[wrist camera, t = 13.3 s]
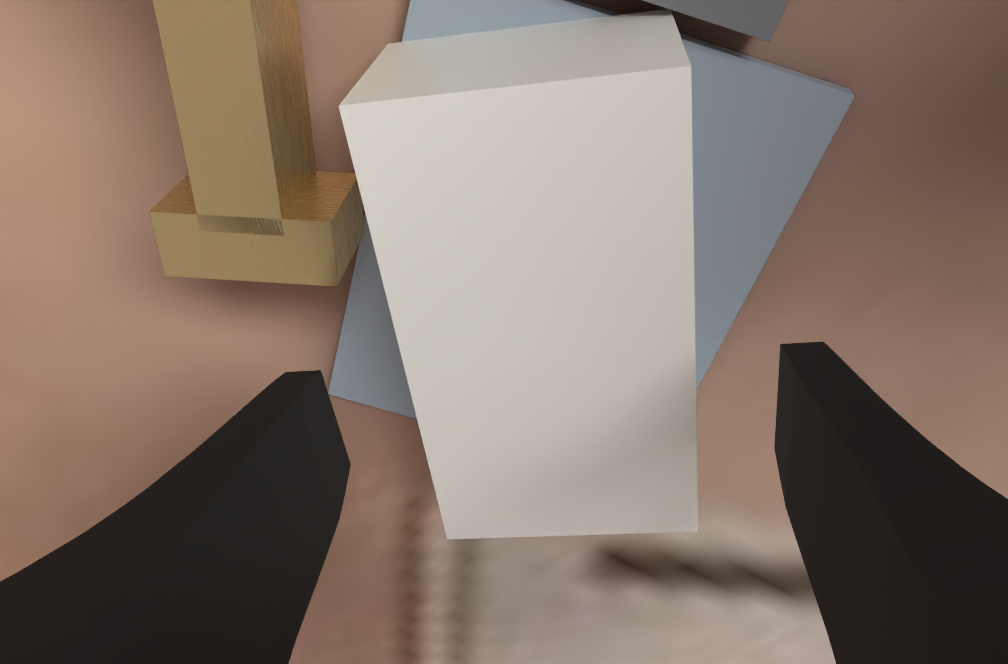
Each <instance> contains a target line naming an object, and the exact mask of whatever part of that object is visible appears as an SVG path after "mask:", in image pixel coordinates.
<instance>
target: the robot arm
mask: <svg viewBox="0 0 1008 664" xmlns="http://www.w3.org/2000/svg"><path fill="white" fill-rule="evenodd" d="M775 453H776V459H777V464H778V470H779V475H780V481H781V485H782V490H783V495H784V500H785V505H786V509H787V512H788V515H789V518H790V522H791V525H792V528H793V531H794V534H795V537H796V540H797V543H798V546H799V549H800V552H801V555H802V558H803V561H804V564H805V567H806V570H807V573H808V576H809V579H810V582H811V585H812V588H813V591H814V594H815V597H816V600H817V603H818V606H819V609H820V612H821V615H822V618H823V621H824V624H825V627H826V630H827V633H828V636H829V640H830V643H831V647H832V650H833V654H834V657H835V661H836V664H1008V499H1007V498H1005V497H1004V496H1002V495H1001V494H999V493H998V492H996V491H995V490H993V489H992V488H990V487H989V486H987V485H986V484H984V483H983V482H981V481H980V480H979V479H977V478H976V477H975V476H973V475H972V474H970V473H969V472H968V471H966V470H965V469H964V468H962V467H961V466H960V465H959V464H957V463H956V462H955V461H953V460H952V459H951V458H950V457H948V456H947V455H946V454H945V453H943V452H942V451H941V450H940V449H938V448H937V447H936V446H934V445H933V444H932V443H931V442H930V441H929V440H927V439H926V438H925V437H924V436H923V435H921V434H920V433H919V432H918V431H917V430H916V429H915V428H914V427H912V426H911V425H910V424H909V423H908V422H907V421H906V420H905V419H903V418H902V417H901V416H900V415H899V414H898V413H897V412H896V411H895V410H893V409H892V408H891V407H890V406H889V405H888V404H887V403H886V402H885V401H884V400H883V399H882V398H880V397H879V396H878V395H877V394H876V393H875V392H874V391H873V390H872V389H871V388H870V387H869V386H868V385H867V384H866V383H865V382H864V381H863V380H862V379H861V378H860V377H859V376H858V375H857V374H856V373H855V372H854V371H853V370H852V369H851V368H850V367H849V366H848V365H847V364H846V363H845V362H844V361H843V360H842V359H841V358H840V357H839V356H838V355H837V354H836V353H835V352H834V351H833V350H832V349H831V348H830V347H829V346H828V345H826V344H825V343H824V342H810V343H792V344H781V345H780V362H779V379H778V397H777V414H776V431H775ZM350 465H351V464H350V461H349V458H348V455H347V451H346V448H345V445H344V442H343V439H342V436H341V432H340V429H339V426H338V423H337V420H336V417H335V414H334V410H333V407H332V404H331V401H330V398H329V395H328V391H327V388H326V385H325V382H324V379H323V376H322V373H321V370H317V371H299V372H285V373H284V374H283V375H281V376H280V377H279V378H277V379H276V380H275V381H274V382H272V383H271V384H270V385H269V386H268V387H266V388H265V389H264V390H263V391H262V392H261V393H260V394H258V395H257V396H256V397H255V398H254V399H253V400H252V401H250V402H249V403H248V404H247V405H246V406H245V407H244V408H242V409H241V410H240V411H239V412H238V413H237V414H236V415H235V416H233V417H232V418H231V419H230V420H229V421H228V422H227V423H225V424H224V425H223V426H222V427H221V428H220V429H219V430H217V431H216V432H215V433H214V434H213V435H212V436H210V437H209V438H208V439H207V440H206V441H205V442H204V443H202V444H201V445H200V446H199V447H198V448H197V449H195V450H194V451H193V452H192V453H191V454H189V455H188V456H187V457H186V458H184V459H183V460H182V461H181V462H179V463H178V464H177V465H176V466H174V467H173V468H172V469H171V470H169V471H168V472H167V473H166V474H164V475H163V476H162V477H161V478H159V479H158V480H157V481H156V482H154V483H153V484H152V485H151V486H149V487H148V488H147V489H146V490H144V491H143V492H142V493H140V494H139V495H138V496H136V497H135V498H134V499H132V500H131V501H129V502H128V503H127V504H125V505H124V506H122V507H121V508H120V509H118V510H117V511H115V512H114V513H112V514H111V515H109V516H108V517H106V518H105V519H104V520H102V521H101V522H99V523H98V524H96V525H95V526H93V527H92V528H90V529H89V530H87V531H86V532H84V533H83V534H81V535H79V536H78V537H76V538H75V539H73V540H71V541H70V542H68V543H66V544H65V545H63V546H61V547H59V548H58V549H56V550H54V551H53V552H51V553H49V554H48V555H46V556H44V557H43V558H41V559H39V560H37V561H36V562H34V563H32V564H31V565H29V566H27V567H26V568H24V569H22V570H21V571H19V572H17V573H15V574H13V575H12V576H10V577H8V578H6V579H4V580H2V581H0V664H288V663H289V660H290V657H291V653H292V650H293V647H294V644H295V641H296V638H297V635H298V632H299V630H300V627H301V624H302V621H303V619H304V616H305V613H306V610H307V608H308V605H309V602H310V600H311V597H312V594H313V591H314V589H315V586H316V583H317V580H318V578H319V575H320V572H321V569H322V567H323V564H324V561H325V558H326V556H327V553H328V550H329V547H330V544H331V542H332V539H333V536H334V533H335V530H336V527H337V524H338V521H339V518H340V514H341V509H342V505H343V500H344V496H345V491H346V486H347V481H348V475H349V470H350Z"/></svg>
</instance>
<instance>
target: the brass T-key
mask: <svg viewBox="0 0 1008 664" xmlns="http://www.w3.org/2000/svg"><path fill="white" fill-rule="evenodd" d="M153 5H154V10H155V15H156V19H157V24H158V29H159V34H160V39H161V43H162V48H163V53H164V58H165V63H166V67H167V72H168V77H169V82H170V87H171V92H172V96H173V101H174V106H175V111H176V116H177V120H178V125H179V130H180V135H181V140H182V144H183V149H184V154H185V159H186V164H187V168H188V173H189V174H188V175H187V176H186V177H185V178H184V179H183V180H182V181H181V182H180V183H179V184H178V185H177V186H176V187H175V188H174V189H173V190H172V191H171V192H170V193H169V194H167V195H166V196H165V197H164V198H163V199H162V200H161V201H160V202H159V203H158V204H157V205H156V206H155V207H154V208H153V209H152V210H151V211H150V212H149V213H150V217H151V221H152V225H153V229H154V233H155V238H156V242H157V246H158V250H159V254H160V258H161V262H162V266H163V271H164V275H165V276H170V277H187V278H204V279H220V280H237V281H253V282H270V283H286V284H303V285H319V286H336V287H338V285H339V283H340V281H341V279H342V277H343V275H344V273H345V271H346V269H347V267H348V265H349V263H350V261H351V259H352V257H353V255H354V254H355V252H356V250H357V248H358V246H359V244H360V242H361V240H362V238H363V236H364V234H365V229H364V217H363V206H362V198H361V194H360V190H359V186H358V182H357V178H356V174H355V173H342V172H323V171H316V165H315V156H314V147H313V139H312V130H311V121H310V113H309V104H308V96H307V87H306V78H305V70H304V61H303V53H302V44H301V35H300V27H299V18H298V10H297V1H296V0H153Z"/></svg>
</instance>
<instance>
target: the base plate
mask: <svg viewBox="0 0 1008 664" xmlns="http://www.w3.org/2000/svg"><path fill="white" fill-rule="evenodd" d="M643 1H646V2H649V3H652V4H655V5H658V6H661V7H664V8H667V9H670V10H673V11H677V12H680V13H683V14H686V15H689V16H692V17H695V18H698V19H701V20H704V21H707V22H710V23H713V24H716V25H719V26H722V27H725V28H728V29H731V30H734V31H738V32H741V33H744V34H747V35H750V36H753V37H756V38H759V39H762V40H765V41H768V42H770V40H771V37H772V35H773V33H774V31H775V29H776V27H777V24H778V22H779V20H780V18H781V16H782V14H783V11H784V9H785V7H786V5H787V3H788V0H643Z"/></svg>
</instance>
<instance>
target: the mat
mask: <svg viewBox="0 0 1008 664" xmlns="http://www.w3.org/2000/svg"><path fill="white" fill-rule="evenodd" d="M615 15H622V14H619V13H616V12H613V11H610V10H607V9H604V8H601V7H597V6H594V5H591V4H588V3H585V2H582V1H579V0H410V4H409V9H408V14H407V18H406V23H405V28H404V33H403V38H402V42H405V41H413V40H421V39H429V38H437V37H445V36H453V35H461V34H469V33H477V32H485V31H494V30H502V29H510V28H518V27H526V26H534V25H542V24H550V23H558V22H566V21H574V20H582V19H590V18H598V17H606V16H615ZM679 34H680V33H679ZM680 36H681V39H682V42H683V45H684V47H685V50H686V53H687V56H688V58H689V61H690V64H691V83H692V150H693V216H694V283H695V350H696V390H697V388H698V387H699V385H700V383H701V381H702V379H703V377H704V375H705V374H706V372H707V370H708V368H709V366H710V364H711V362H712V361H713V359H714V357H715V355H716V353H717V351H718V349H719V348H720V346H721V344H722V342H723V340H724V338H725V336H726V335H727V333H728V331H729V329H730V327H731V325H732V323H733V322H734V320H735V318H736V316H737V314H738V312H739V310H740V309H741V307H742V305H743V303H744V301H745V299H746V297H747V296H748V294H749V292H750V290H751V288H752V286H753V285H754V283H755V281H756V279H757V277H758V275H759V273H760V272H761V270H762V268H763V266H764V264H765V262H766V260H767V259H768V257H769V255H770V253H771V251H772V249H773V247H774V246H775V244H776V242H777V240H778V238H779V236H780V234H781V233H782V231H783V229H784V227H785V225H786V223H787V221H788V220H789V218H790V216H791V214H792V212H793V210H794V208H795V207H796V205H797V203H798V201H799V199H800V197H801V195H802V194H803V192H804V190H805V188H806V186H807V184H808V182H809V181H810V179H811V177H812V175H813V173H814V171H815V169H816V168H817V166H818V164H819V162H820V160H821V158H822V157H823V155H824V153H825V151H826V149H827V147H828V145H829V144H830V142H831V140H832V138H833V136H834V134H835V132H836V131H837V129H838V127H839V125H840V123H841V121H842V119H843V118H844V116H845V114H846V112H847V110H848V108H849V106H850V105H851V103H852V101H853V99H854V97H855V94H854V93H853V92H852V91H851V90H850V89H849V88H846V87H843V86H840V85H837V84H834V83H831V82H828V81H825V80H822V79H819V78H815V77H812V76H809V75H806V74H803V73H800V72H797V71H794V70H791V69H788V68H785V67H782V66H779V65H776V64H773V63H769V62H766V61H763V60H760V59H757V58H754V57H751V56H748V55H745V54H742V53H739V52H736V51H733V50H730V49H726V48H723V47H720V46H717V45H714V44H711V43H708V42H705V41H702V40H699V39H696V38H693V37H690V36H687V35H683V34H680ZM364 229H365V234H364V236H363V238H362V240H361V242H360V244H359V248H358V253H357V258H356V262H355V267H354V272H353V277H352V281H351V286H350V291H349V296H348V301H347V305H346V310H345V315H344V320H343V325H342V329H341V334H340V339H339V344H338V348H337V353H336V358H335V363H334V368H333V372H332V377H331V382H330V387H329V391H328V394H329V395H332V396H336V397H340V398H343V399H347V400H350V401H354V402H358V403H361V404H365V405H368V406H372V407H376V408H379V409H383V410H386V411H390V412H394V413H397V414H401V415H405V416H408V417H412V418H415V419H417V417H416V413H415V409H414V405H413V401H412V397H411V393H410V389H409V385H408V381H407V377H406V373H405V369H404V365H403V361H402V357H401V353H400V349H399V345H398V341H397V337H396V333H395V329H394V325H393V321H392V317H391V313H390V309H389V305H388V301H387V297H386V293H385V289H384V285H383V281H382V277H381V273H380V269H379V265H378V261H377V257H376V253H375V249H374V245H373V241H372V237H371V233H370V230H369V226H368V222H367V218H366V214H365V219H364Z"/></svg>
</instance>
